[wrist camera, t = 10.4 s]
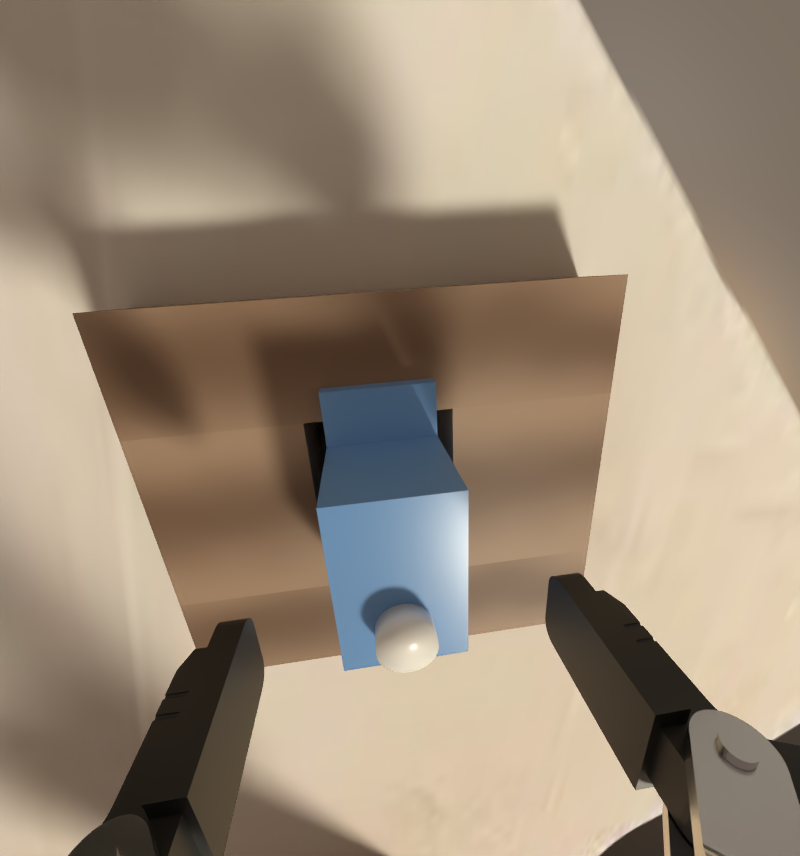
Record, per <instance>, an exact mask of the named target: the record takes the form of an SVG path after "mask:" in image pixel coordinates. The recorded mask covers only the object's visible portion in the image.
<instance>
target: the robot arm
mask: <svg viewBox="0 0 800 856" xmlns="http://www.w3.org/2000/svg"><path fill="white" fill-rule="evenodd" d="M545 622H546V628H547V632H548V635H549V638H550V640H551V642H552V644H553V646H554V648H555V649H556V651H557V653H558V655H559V656H560V658H561V660H562V662H563V663H564V665H565V667H566V669H567V670H568V672H569V674H570V676H571V677H572V679H573V681H574V683H575V685H576V686H577V688H578V690H579V692H580V693H581V695H582V697H583V699H584V700H585V702H586V704H587V706H588V707H589V709H590V711H591V713H592V714H593V716H594V718H595V720H596V722H597V723H598V725H599V727H600V729H601V730H602V732H603V734H604V736H605V737H606V739H607V741H608V743H609V744H610V746H611V748H612V750H613V751H614V753H615V755H616V757H617V759H618V760H619V762H620V764H621V766H622V767H623V769H624V771H625V773H626V774H627V776H628V778H629V780H630V781H631V783H632V785H633V787H634V788H635V790H639V789H644V788H649V787H655V789H656V791H657V792H658V794H659V796H660V797H661V799H662V801H663V802H664V804H663V812H662V813H663V833H664V852H665V856H800V746H798V745H793V744H787V743H782V742H776V741H772V740H768V739H766V738H765V737H764V736H763V735H762V734H761V733H759V732H758V731H757V730H756V729H754V728H753V727H752V726H750V725H749V724H747V723H746V722H744V721H742V720H741V719H739V718H737V717H735V716H732V715H730V714H728V713H725V712H722V711H718V710H717V709H716V708H715V707H714V706H713V705H712V704H711V703H710V702H709V701H708V700H707V699H706V698H705V697H704V695H703V694H702V693H701V692H700V691H699V690H698V688H697V687H696V686H695V685H694V684H693V683H692V682H691V680H690V679H689V678H688V677H687V676H686V675H685V674H684V672H683V671H682V670H681V669H680V668H679V667H678V666H677V664H676V663H675V662H674V661H673V660H672V659H671V658H670V656H669V655H668V654H667V653H666V652H665V651H664V649H663V648H662V647H661V646H660V645H659V644H658V643H657V641H654V640H653V637H652V636H651V635H650V633H649V632H648V631H647V630H646V629H645V628H644V627H643V626H641V625H640V622H639V621H638V620H637V619H636V617H635V616H634V615H633V614H632V613H631V612H630V610H629V609H628V608H627V607H626V606H625V605H624V604H623V603H621V602H620V601H619V600H617V599H616V598H614V597H613V596H611V595H610V594H608V593H607V592H605V591H604V590H602V591H595V590H594V588H593V587H592V586H591V585H590V584H589V582H588V581H587V580H586V579H585V577H584V576H583V575H581V574H580V573H572V574H565V575H558V576H551V577H550V579H549V583H548V594H547V604H546V614H545ZM263 681H264V661H263V656H262V653H261V649H260V645H259V641H258V638H257V634H256V630H255V626H254V623H253V620H252V619H251V618H245V619H238V620H231V621H224V622H220V623H218V624H217V626H216V628H215V630H214V632H213V634H212V637H211V639H210V642H209V644H208V646H207V647H205V648H198V649H195V650H194V651H193V652H192V653H191V654H190V656H189V657H188V658H187V659H186V660H185V661H184V663H183V664H182V665H181V666H180V667H179V668H178V670H177V671H176V673H175V675H174V677H173V680H172V682H171V684H170V686H169V688H168V690H167V692H166V694H165V695H166V697H165V699H164V700H163V701H162V703H161V705H160V707H159V709H158V711H157V713H156V719H155V721H153V722H152V724H151V726H150V728H149V730H148V733H147V735H146V737H145V739H144V741H143V743H142V745H141V747H140V749H139V752H138V754H137V756H136V758H135V760H134V762H133V764H132V766H131V769H130V771H129V773H128V775H127V777H126V779H125V781H124V783H123V785H122V788H121V790H120V792H119V794H118V796H117V798H116V800H115V802H114V805H113V807H112V808H111V810H110V812H109V814H108V816H107V817H106V819H105V821H104V822H103V824H102V825H100V826H99V827H97V828H96V829H94V830H93V831H92V832H91V833H90V834H88V835H87V836H86V837H85V838H84V839H83V840H82V841H81V842H80V843H79V844H78V845H77V846H76V847H75V848H74V849H73V850H72V852H71V853H70V854H69V855H68V856H223V854H224V850H225V846H226V842H227V837H228V833H229V829H230V824H231V820H232V816H233V812H234V807H235V803H236V799H237V794H238V790H239V786H240V782H241V777H242V773H243V769H244V764H245V760H246V756H247V752H248V747H249V743H250V739H251V735H252V730H253V726H254V722H255V717H256V713H257V709H258V705H259V700H260V696H261V692H262V687H263Z"/></svg>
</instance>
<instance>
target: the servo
mask: <svg viewBox="0 0 800 856" xmlns="http://www.w3.org/2000/svg"><path fill="white" fill-rule="evenodd" d="M319 400H320V406H321V413H322V420H323V426H324V433H325V440H326V446H327V449H326V454H325V460H324V466H323V472H322V478H321V484H320V489H319V495H318V501H317V507H316V510H317V516H318V522H319V528H320V533H321V539H322V545H323V551H324V557H325V562H326V568H327V574H328V580H329V585H330V591H331V597H332V603H333V609H334V614H335V620H336V626H337V632H338V638H339V643H340V649H341V655H342V661H343V667H344V671H347V670H353V669H359V668H366V667H372V666H378V665H382V666H383V667H384V668H386V669H388V670H390V671H393V672H399V673H407V672H413V671H416V670H419V669H421V668H423V667H425V666H427V665H428V664H429V663H431V662H432V661H433V659H434V658H435V657H436V656H442V655H448V654H454V653H460V652H467V651H468V521H469V490H468V488H467V487H466V485H465V483H464V481H463V480H462V478H461V476H460V474H459V473H458V471H457V469H456V467H455V466H454V464H453V462H452V460H451V458H450V457H449V455H448V453H447V451H446V450H445V448H444V446H443V444H442V443H441V441H440V439H439V437H438V434H437V401H436V382H435V380H434V379H433V378H429V379H418V380H407V381H396V382H385V383H374V384H363V385H353V386H342V387H331V388H320V390H319Z"/></svg>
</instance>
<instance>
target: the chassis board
mask: <svg viewBox="0 0 800 856" xmlns="http://www.w3.org/2000/svg"><path fill="white" fill-rule="evenodd" d="M627 277H628V274H627V275H608V276H589V277H572V278H557V279H543V280H529V281H514V282H500V283H486V284H471V285H457V286H443V287H429V288H414V289H400V290H386V291H371V292H357V293H343V294H328V295H314V296H300V297H285V298H271V299H257V300H243V301H228V302H214V303H200V304H185V305H171V306H157V307H142V308H128V309H117V310H106V311H94V312H83V313H72V314H73V316H74V319H75V322H76V324H77V327H78V330H79V333H80V335H81V338H82V341H83V343H84V346H85V349H86V352H87V354H88V357H89V360H90V362H91V365H92V368H93V370H94V373H95V376H96V379H97V381H98V384H99V387H100V389H101V392H102V395H103V398H104V400H105V403H106V406H107V408H108V411H109V414H110V417H111V419H112V422H113V425H114V427H115V430H116V433H117V436H118V438H119V441H120V444H121V446H122V449H123V452H124V454H125V457H126V460H127V463H128V465H129V468H130V471H131V473H132V476H133V479H134V482H135V484H136V487H137V490H138V492H139V495H140V498H141V501H142V503H143V506H144V509H145V511H146V514H147V517H148V520H149V522H150V525H151V528H152V530H153V533H154V536H155V538H156V541H157V544H158V547H159V549H160V552H161V555H162V557H163V560H164V563H165V566H166V568H167V571H168V574H169V576H170V579H171V582H172V585H173V587H174V590H175V593H176V595H177V598H178V601H179V604H180V606H181V609H182V612H183V614H184V617H185V620H186V622H187V625H188V628H189V631H190V633H191V636H192V639H193V641H194V644H195V647H196V649H198V648H205V647H207V646H208V644H209V642H210V639H211V637H212V634H213V632H214V630H215V628H216V626H217V624H218V623H220V622H224V621H231V620H238V619H245V618H251V619H252V620H253V623H254V626H255V630H256V634H257V638H258V641H259V645H260V649H261V653H262V656H263V661H264V667H265V666H272V665H278V664H285V663H291V662H298V661H305V660H311V659H318V658H324V657H331V656H337V655H341V649H340V643H339V638H338V632H337V626H336V620H335V614H334V609H333V603H332V597H331V591H330V585H329V580H328V574H327V568H326V562H325V557H324V551H323V545H322V539H321V533H320V528H319V522H318V516H317V510H316V507H317V501H318V495H319V489H320V484H321V478H322V472H323V468H322V461H321V455H320V448H319V442H318V436H317V429H316V423H315V422H323V420H322V413H321V406H320V400H319V390H320V388H331V387H342V386H353V385H363V384H374V383H385V382H396V381H407V380H418V379H429V378H433V379H434V380H435V382H436V401H437V434H438V437H439V439H440V441H441V443H442V444H443V446H444V448H445V450H446V451H447V453H448V455H449V457H450V458H451V460H452V462H453V464H454V466H455V467H456V469H457V471H458V473H459V474H460V476H461V478H462V480H463V481H464V483H465V485H466V487H467V488H468V490H469V521H468V635H474V634H480V633H487V632H493V631H500V630H506V629H513V628H519V627H526V626H532V625H539V624H545V623H546V622H545V614H546V604H547V594H548V583H549V579H550V577H551V576H558V575H565V574H572V573H580V574H581V575H583V576H584V570H585V563H586V556H587V549H588V542H589V536H590V529H591V522H592V515H593V508H594V502H595V495H596V488H597V481H598V474H599V468H600V461H601V454H602V447H603V440H604V434H605V427H606V420H607V413H608V406H609V400H610V393H611V386H612V379H613V372H614V366H615V359H616V352H617V345H618V338H619V332H620V325H621V318H622V311H623V304H624V298H625V291H626V284H627Z"/></svg>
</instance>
